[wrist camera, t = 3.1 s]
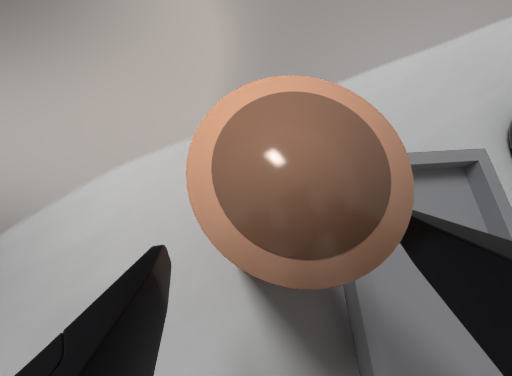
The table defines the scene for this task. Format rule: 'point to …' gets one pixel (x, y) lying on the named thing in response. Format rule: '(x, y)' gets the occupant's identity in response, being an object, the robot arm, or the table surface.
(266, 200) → the terracotta cup
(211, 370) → the table surface
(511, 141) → the supplement container
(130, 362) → the robot arm
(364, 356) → the charcoal tray
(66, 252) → the table surface
